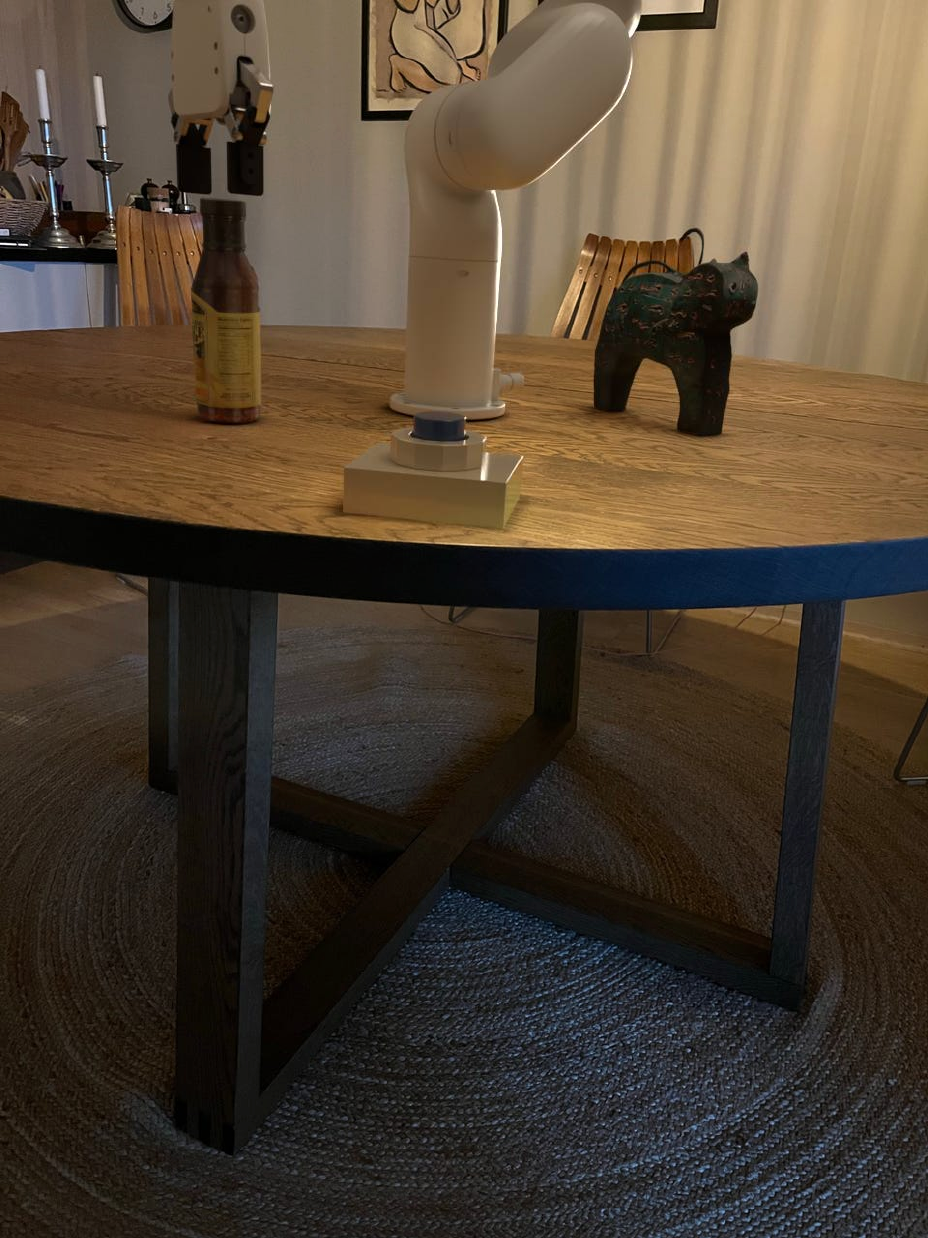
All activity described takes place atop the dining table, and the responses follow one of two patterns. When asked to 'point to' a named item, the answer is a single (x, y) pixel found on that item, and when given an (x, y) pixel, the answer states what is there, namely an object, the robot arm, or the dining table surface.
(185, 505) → the dining table surface
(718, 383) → the ceramic cat
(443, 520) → the push button base
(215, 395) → the sauce bottle
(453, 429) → the cylinder
